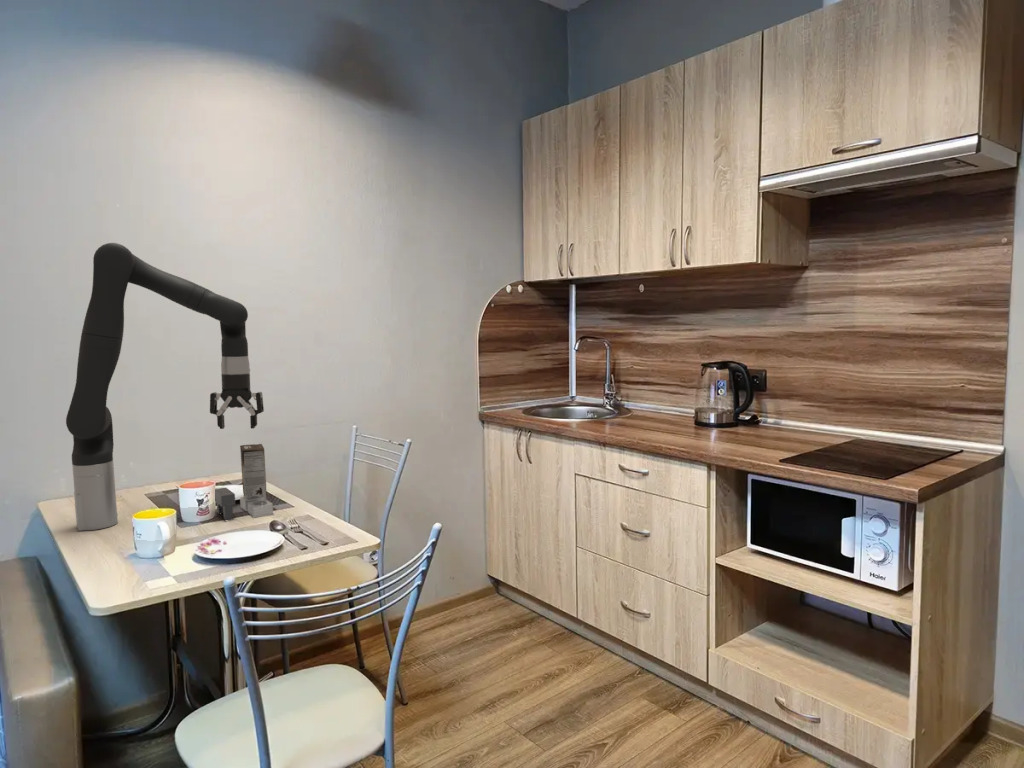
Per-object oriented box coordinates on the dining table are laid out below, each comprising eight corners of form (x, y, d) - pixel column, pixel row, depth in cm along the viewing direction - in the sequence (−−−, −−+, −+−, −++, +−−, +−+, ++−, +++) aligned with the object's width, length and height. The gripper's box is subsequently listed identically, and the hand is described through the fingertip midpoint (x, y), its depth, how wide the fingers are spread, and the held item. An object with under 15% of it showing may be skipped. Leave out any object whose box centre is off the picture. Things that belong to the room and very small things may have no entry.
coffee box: (242, 496, 207) (239, 445, 206) (264, 494, 210) (262, 443, 208) (244, 503, 199) (241, 450, 197) (267, 501, 202) (264, 448, 200)
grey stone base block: (253, 517, 185) (253, 504, 184) (240, 507, 195) (239, 495, 195) (273, 514, 188) (272, 501, 187) (259, 504, 198) (258, 492, 198)
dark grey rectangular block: (222, 521, 182) (221, 496, 181) (214, 513, 189) (212, 489, 188) (236, 518, 184) (234, 493, 183) (227, 511, 191) (225, 487, 190)
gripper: (205, 373, 188) (207, 430, 189) (257, 373, 189) (259, 430, 191) (213, 371, 195) (216, 426, 196) (264, 371, 197) (266, 426, 198)
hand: (237, 428), depth 193 cm, fingers open, 8 cm apart
